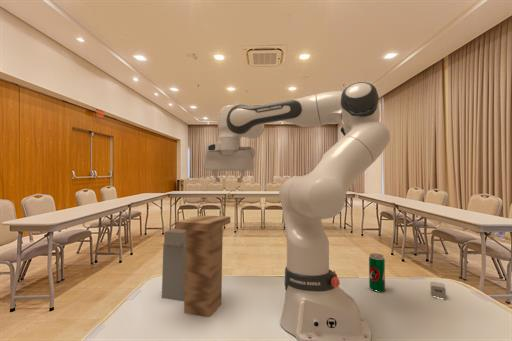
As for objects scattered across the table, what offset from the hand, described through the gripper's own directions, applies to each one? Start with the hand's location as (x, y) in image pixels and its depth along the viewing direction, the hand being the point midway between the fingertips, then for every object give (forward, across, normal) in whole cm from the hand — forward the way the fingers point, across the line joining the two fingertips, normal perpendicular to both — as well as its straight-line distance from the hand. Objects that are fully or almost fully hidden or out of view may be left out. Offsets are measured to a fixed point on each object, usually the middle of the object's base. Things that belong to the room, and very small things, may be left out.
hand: (228, 182), depth 103 cm
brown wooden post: (+37, -2, +24) cm, 44 cm away
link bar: (+20, +10, +9) cm, 24 cm away
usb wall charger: (+37, -73, -7) cm, 82 cm away
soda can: (+37, -54, -6) cm, 66 cm away
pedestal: (+37, +10, +13) cm, 41 cm away
